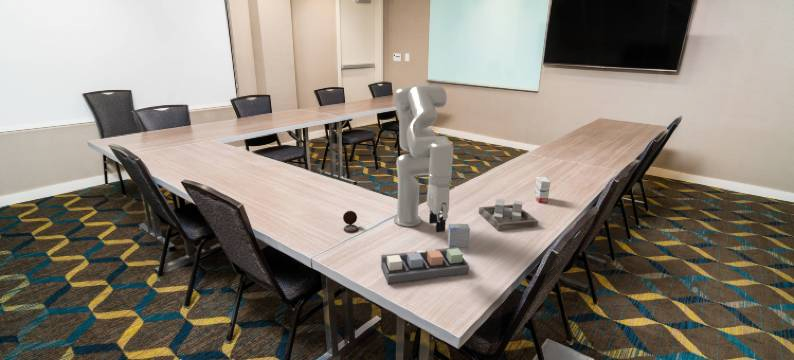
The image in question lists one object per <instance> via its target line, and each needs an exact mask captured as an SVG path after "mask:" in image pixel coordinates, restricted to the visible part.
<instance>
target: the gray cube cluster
mask: <svg viewBox="0 0 794 360" xmlns="http://www.w3.org/2000/svg"><path fill="white" fill-rule="evenodd" d="M512 204H513V210H512V208H505V207H504V205H505V199H503V198H495V204H494V206H495V211H494V213H493V217H494V218H495V219H496V220H497V221H498V222H500V223H503V219H504V218H505V219H511V221H510V222H515V221H522V217H521V210H522V209H523V201H521V200H520V201H519V200H513V203H512ZM503 209H504V211H503Z"/></svg>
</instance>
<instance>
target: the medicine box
mask: <svg viewBox="0 0 794 360" xmlns="http://www.w3.org/2000/svg"><path fill="white" fill-rule="evenodd" d="M470 231H471V228H470V226H469V224H468V223H449V224H448V231H447V245H448V248H453V247H458V248H469V243H470V242H469V241H470V233H471V232H470Z"/></svg>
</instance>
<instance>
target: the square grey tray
mask: <svg viewBox="0 0 794 360" xmlns="http://www.w3.org/2000/svg"><path fill="white" fill-rule="evenodd" d="M504 207H505V208H512V210H513V203H512V204H504ZM494 211H495V205H491V206H490V205H489V206H479V207H478V214H479V215H480V216H481V217H482V218H484V220H485V221H486V222H488V224H489V225H491V226H492V227H493V228H494V230H496V231H497V232H500V231H501V232H502V231H511V230H521V229H523V230H524V229H531V228H538V225H539V220H537V218H535V217H533V216H532V215H531V214H530V213H528V212H527V211H526V210H524V208H522V210H521V219H523V220H521V221H515V222H511V221H507V222H505V221H504V222H502V223H500V222H498V221H497V220H496V219H495V218H494V215H492V214H494ZM503 211H504V209H503Z"/></svg>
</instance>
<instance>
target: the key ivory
mask: <svg viewBox="0 0 794 360" xmlns="http://www.w3.org/2000/svg"><path fill="white" fill-rule="evenodd" d="M387 266H388V268H389V270H390V271H391V270H399V269H402V260H401V258H400V256H399V255H392V256H387Z"/></svg>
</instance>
